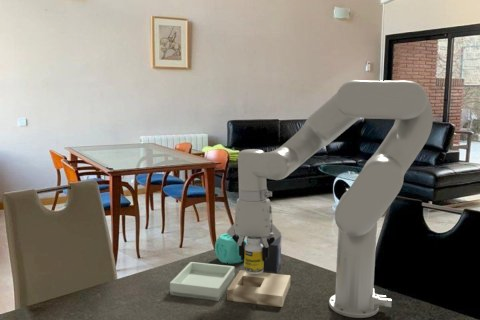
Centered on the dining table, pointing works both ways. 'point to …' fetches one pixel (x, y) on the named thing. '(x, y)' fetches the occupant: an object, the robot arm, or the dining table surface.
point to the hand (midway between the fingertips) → (254, 258)
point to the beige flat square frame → (259, 288)
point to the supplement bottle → (253, 256)
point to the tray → (202, 281)
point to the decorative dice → (227, 249)
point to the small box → (273, 257)
